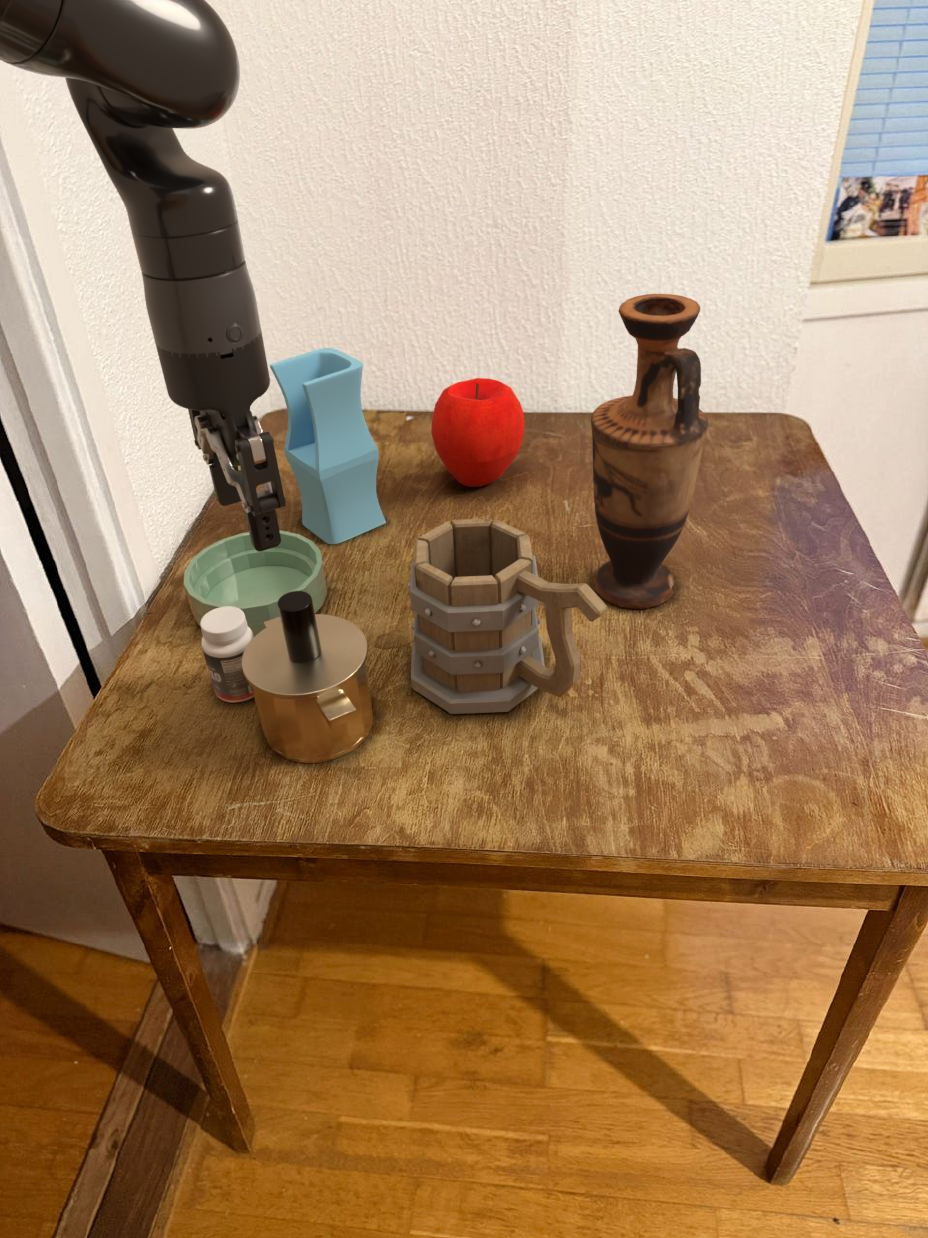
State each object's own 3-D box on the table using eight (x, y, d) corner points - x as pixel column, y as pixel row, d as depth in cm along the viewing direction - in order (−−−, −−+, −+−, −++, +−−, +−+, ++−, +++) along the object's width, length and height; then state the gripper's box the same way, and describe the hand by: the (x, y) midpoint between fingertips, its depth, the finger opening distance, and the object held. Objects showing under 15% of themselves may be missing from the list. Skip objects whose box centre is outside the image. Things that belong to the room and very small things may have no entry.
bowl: (217, 660, 88) (207, 625, 86) (177, 589, 98) (167, 556, 96) (348, 612, 94) (343, 577, 91) (298, 549, 104) (292, 516, 101)
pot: (300, 800, 74) (284, 732, 69) (240, 695, 84) (222, 629, 79) (404, 753, 77) (396, 685, 72) (335, 658, 88) (323, 593, 83)
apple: (495, 514, 108) (492, 412, 100) (416, 491, 113) (407, 393, 105) (540, 472, 116) (541, 374, 108) (464, 453, 121) (459, 358, 113)
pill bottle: (210, 680, 86) (190, 612, 81) (257, 665, 87) (241, 597, 82) (221, 710, 83) (200, 641, 77) (270, 694, 84) (253, 625, 79)
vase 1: (297, 521, 109) (268, 364, 97) (351, 498, 113) (329, 345, 100) (331, 547, 104) (305, 385, 92) (386, 523, 108) (368, 364, 95)
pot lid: (269, 722, 70) (254, 659, 66) (227, 650, 78) (210, 589, 74) (390, 674, 74) (382, 611, 70) (338, 609, 82) (328, 549, 78)
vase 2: (562, 579, 97) (571, 303, 78) (638, 547, 101) (663, 278, 83) (628, 630, 89) (655, 338, 71) (706, 593, 94) (751, 308, 75)
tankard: (385, 673, 86) (369, 543, 76) (475, 612, 93) (469, 487, 83) (544, 777, 74) (547, 639, 65) (632, 699, 81) (646, 565, 72)
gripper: (129, 314, 67) (179, 501, 77) (186, 373, 57) (234, 579, 67) (224, 294, 70) (260, 477, 80) (294, 348, 60) (325, 548, 70)
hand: (248, 523), depth 73 cm, fingers open, 8 cm apart
